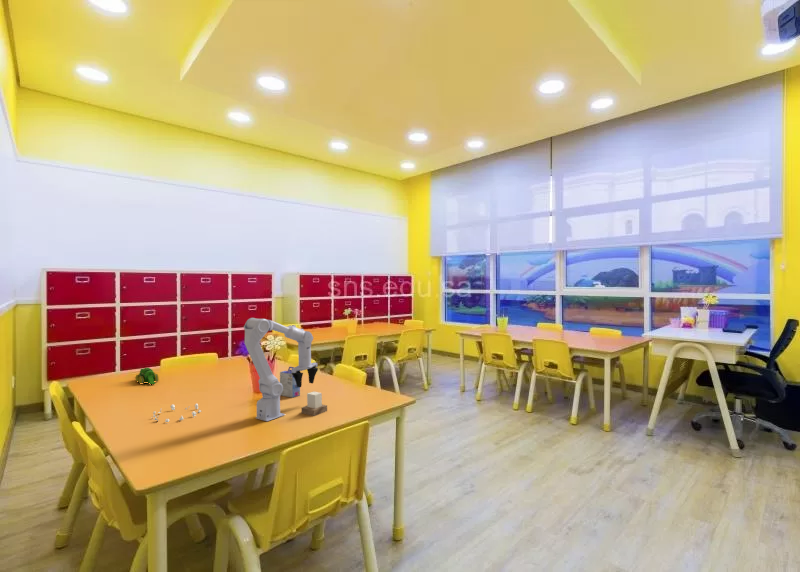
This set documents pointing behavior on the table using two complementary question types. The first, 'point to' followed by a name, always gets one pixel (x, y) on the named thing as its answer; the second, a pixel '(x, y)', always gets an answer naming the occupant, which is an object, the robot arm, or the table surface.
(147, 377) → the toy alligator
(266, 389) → the robot arm
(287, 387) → the ink cartridge box
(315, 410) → the walnut base
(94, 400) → the table surface
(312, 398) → the offwhite block
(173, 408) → the game piece set
